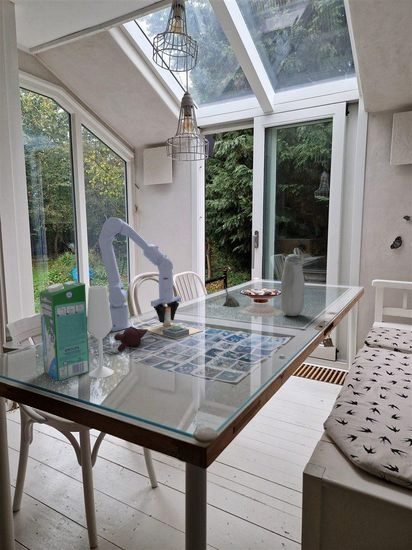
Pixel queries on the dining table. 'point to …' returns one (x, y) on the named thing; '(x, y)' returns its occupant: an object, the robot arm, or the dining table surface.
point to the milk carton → (64, 330)
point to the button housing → (175, 334)
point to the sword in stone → (230, 300)
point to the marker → (167, 317)
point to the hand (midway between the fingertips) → (166, 321)
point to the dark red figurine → (130, 337)
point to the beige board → (159, 328)
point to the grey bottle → (292, 286)
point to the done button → (175, 327)
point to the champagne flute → (99, 324)
